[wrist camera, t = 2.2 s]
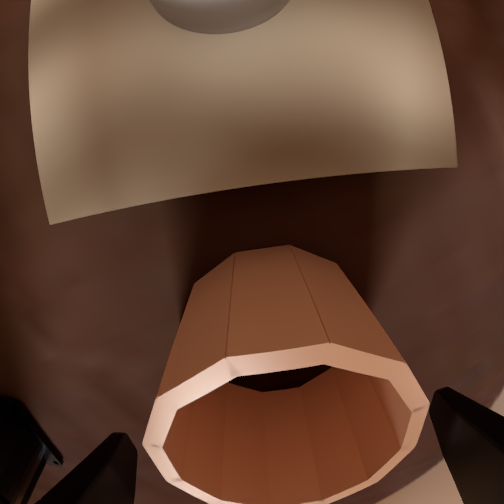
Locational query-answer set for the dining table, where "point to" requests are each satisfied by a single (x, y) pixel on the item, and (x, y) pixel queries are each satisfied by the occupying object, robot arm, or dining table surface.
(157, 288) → the dining table surface
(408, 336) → the dining table surface
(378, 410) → the collar sleeve
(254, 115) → the duct mount
